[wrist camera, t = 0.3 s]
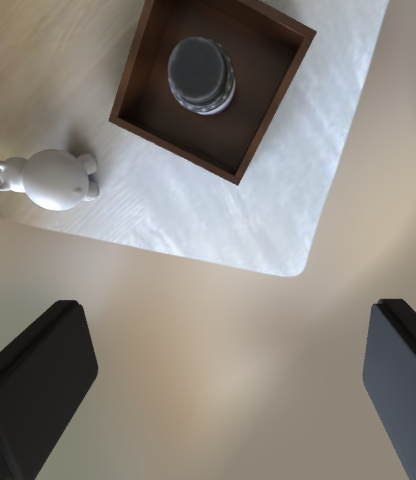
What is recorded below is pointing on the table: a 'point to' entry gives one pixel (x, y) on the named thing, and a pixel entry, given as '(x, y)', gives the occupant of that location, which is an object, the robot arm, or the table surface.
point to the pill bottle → (202, 75)
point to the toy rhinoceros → (51, 178)
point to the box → (246, 77)
